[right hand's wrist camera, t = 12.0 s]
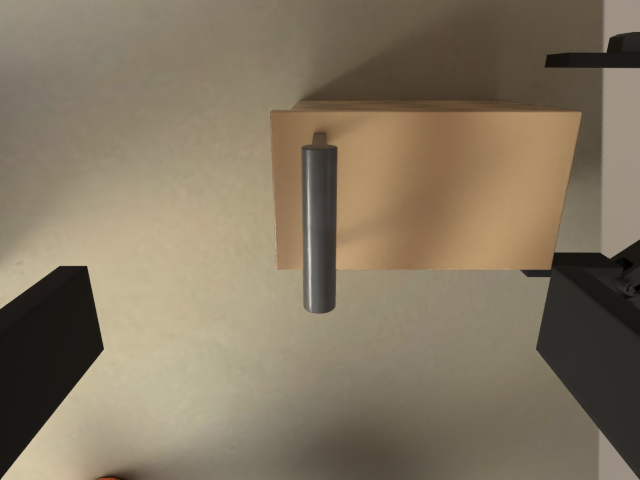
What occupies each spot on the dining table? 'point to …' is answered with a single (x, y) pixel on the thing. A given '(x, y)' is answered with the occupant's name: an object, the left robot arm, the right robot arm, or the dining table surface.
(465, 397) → the dining table surface
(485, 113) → the lid
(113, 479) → the cup with straw
